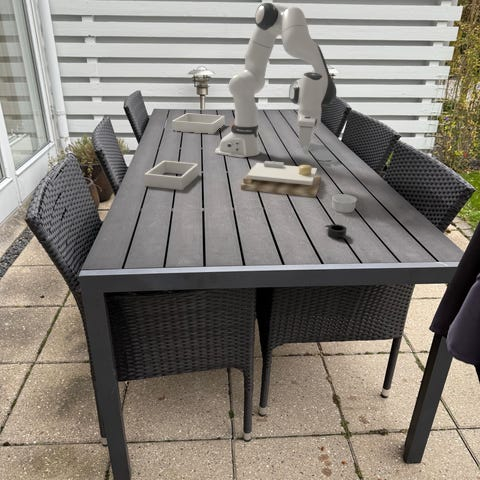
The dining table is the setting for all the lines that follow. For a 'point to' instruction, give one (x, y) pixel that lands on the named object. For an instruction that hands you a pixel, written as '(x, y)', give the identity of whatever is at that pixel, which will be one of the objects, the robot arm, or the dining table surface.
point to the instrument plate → (283, 173)
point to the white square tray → (198, 123)
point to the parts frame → (171, 182)
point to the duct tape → (336, 231)
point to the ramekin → (343, 203)
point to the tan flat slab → (282, 186)
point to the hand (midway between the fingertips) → (305, 152)
